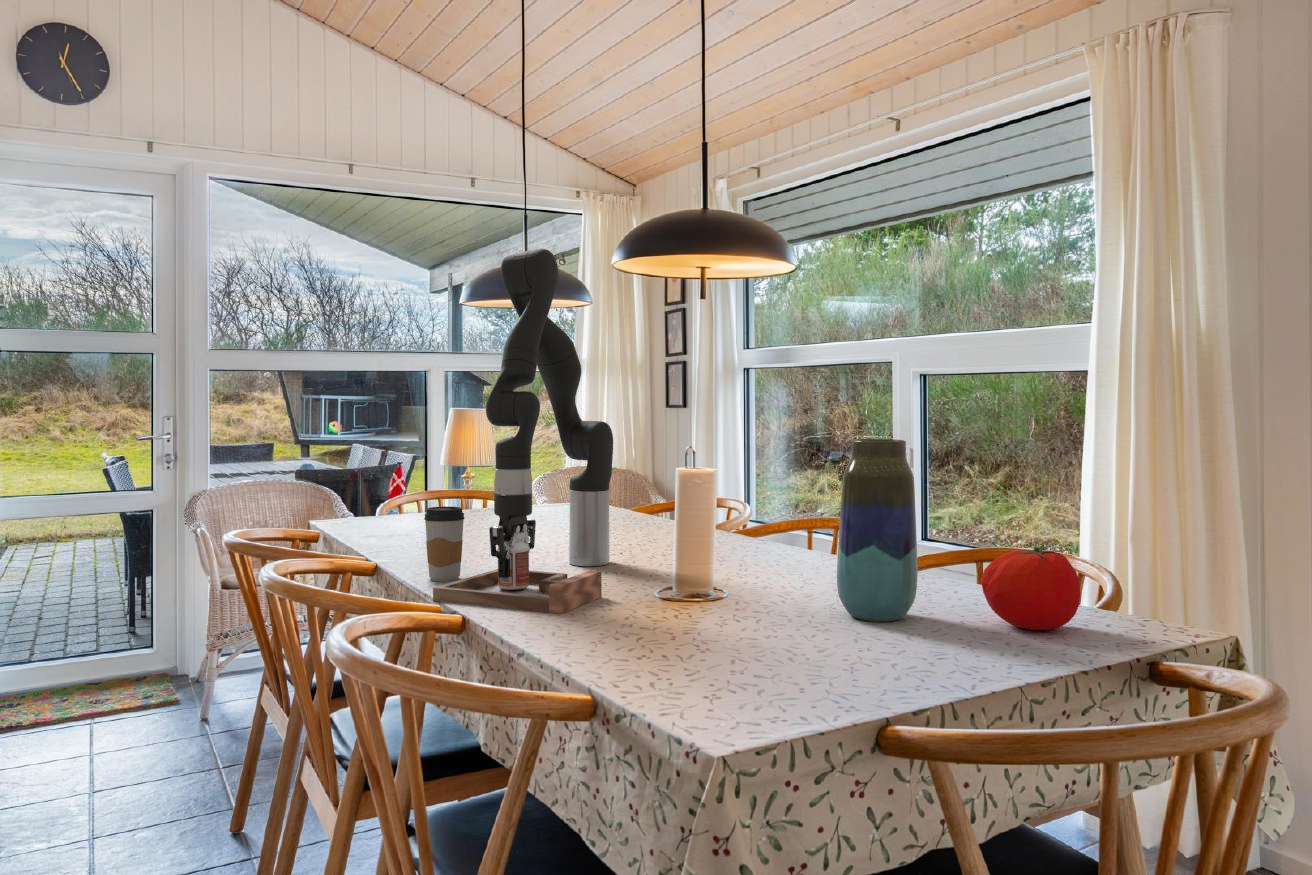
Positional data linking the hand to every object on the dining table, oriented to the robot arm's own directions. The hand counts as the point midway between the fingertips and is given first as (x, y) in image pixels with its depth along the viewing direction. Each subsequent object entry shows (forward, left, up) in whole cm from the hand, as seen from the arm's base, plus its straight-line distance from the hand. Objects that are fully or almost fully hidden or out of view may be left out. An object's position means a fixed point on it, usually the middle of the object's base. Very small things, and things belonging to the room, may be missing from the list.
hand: (513, 574), depth 188 cm
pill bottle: (0, 0, -3) cm, 3 cm away
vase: (-5, +71, -3) cm, 71 cm away
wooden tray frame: (+4, +6, -3) cm, 8 cm away
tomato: (-7, +96, -3) cm, 96 cm away
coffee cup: (-3, -19, -3) cm, 20 cm away
